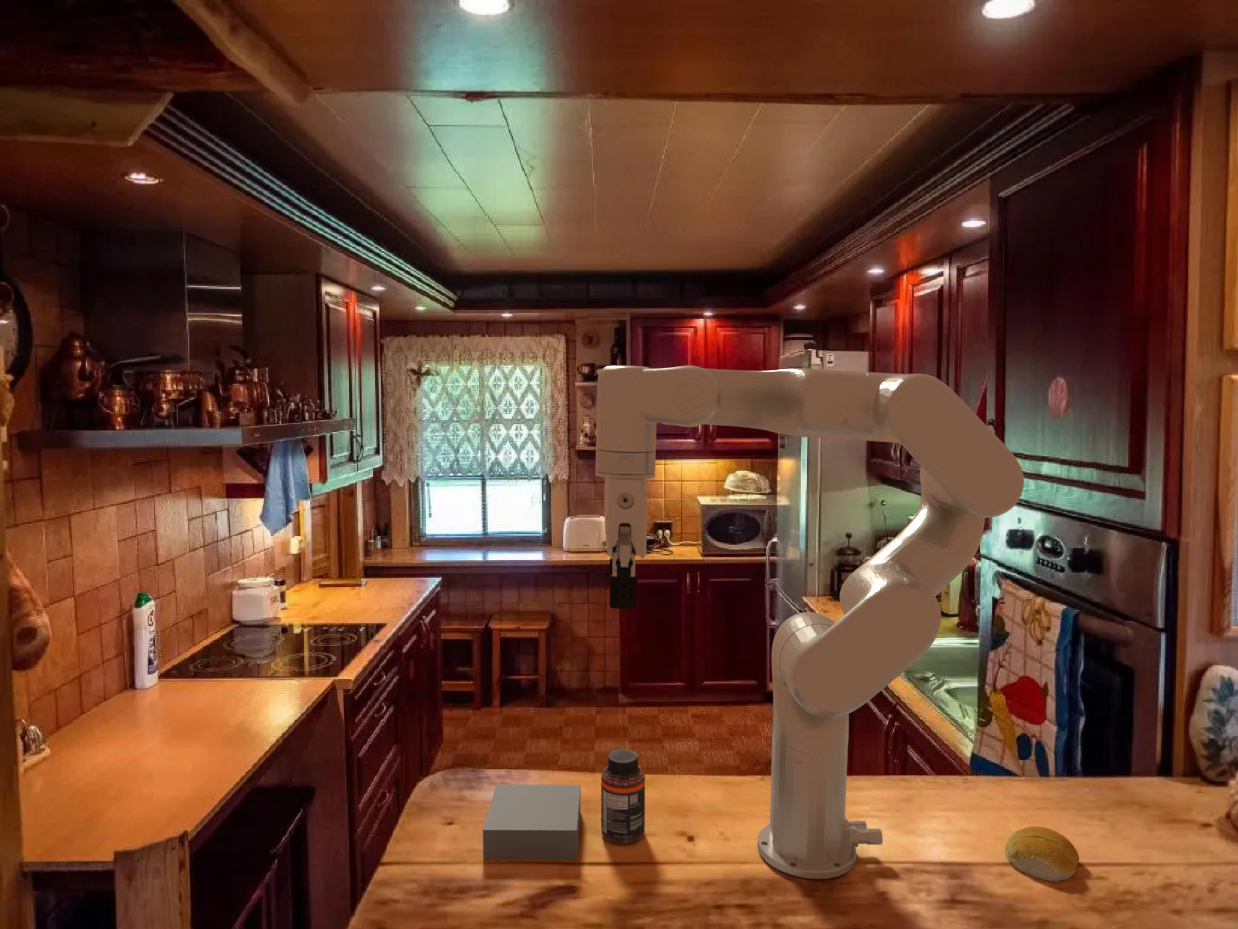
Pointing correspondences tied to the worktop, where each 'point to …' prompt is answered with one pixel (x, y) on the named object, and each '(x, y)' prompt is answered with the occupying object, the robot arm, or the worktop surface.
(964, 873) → the worktop surface
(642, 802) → the supplement bottle
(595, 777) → the worktop surface
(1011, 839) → the bread roll
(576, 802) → the pedestal
